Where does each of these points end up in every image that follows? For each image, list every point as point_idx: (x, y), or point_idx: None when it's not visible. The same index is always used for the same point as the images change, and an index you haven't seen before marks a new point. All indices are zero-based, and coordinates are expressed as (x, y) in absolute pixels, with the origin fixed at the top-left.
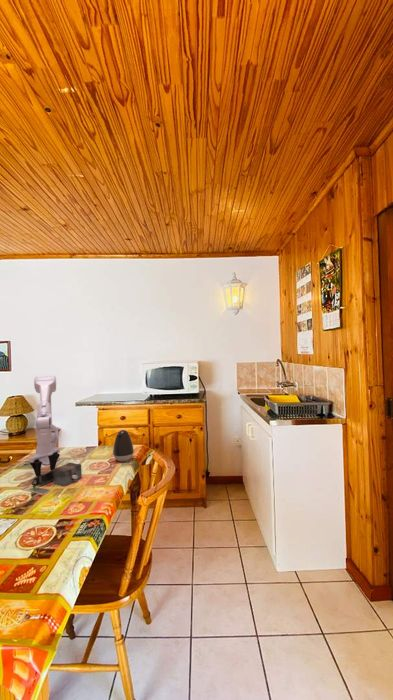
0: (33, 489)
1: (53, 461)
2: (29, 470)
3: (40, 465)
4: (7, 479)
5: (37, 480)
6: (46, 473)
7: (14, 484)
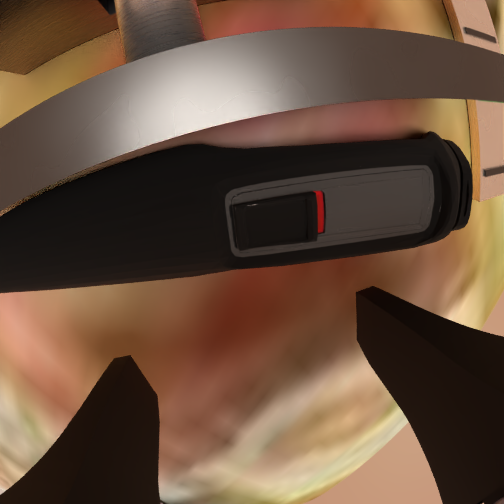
0: None
1: (106, 478)
2: (251, 479)
3: (497, 372)
4: (399, 425)
5: (462, 157)
6: (465, 58)
7: None
